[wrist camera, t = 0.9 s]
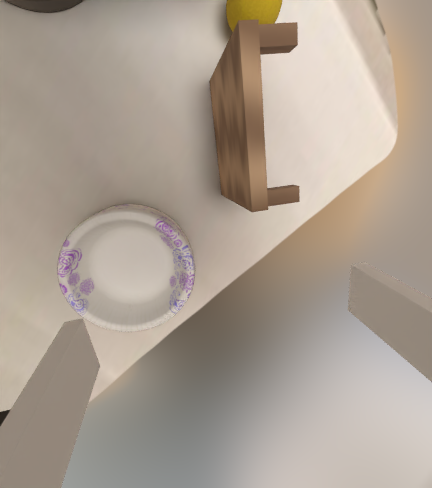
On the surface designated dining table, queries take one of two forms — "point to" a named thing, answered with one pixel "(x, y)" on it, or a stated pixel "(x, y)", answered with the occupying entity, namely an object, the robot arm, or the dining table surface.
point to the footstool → (247, 114)
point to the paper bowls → (127, 268)
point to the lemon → (252, 11)
